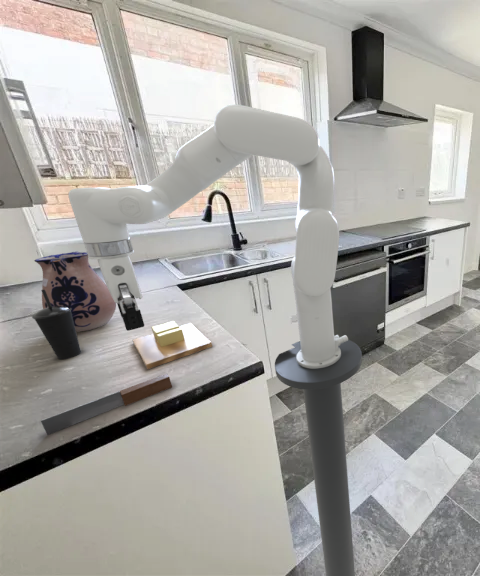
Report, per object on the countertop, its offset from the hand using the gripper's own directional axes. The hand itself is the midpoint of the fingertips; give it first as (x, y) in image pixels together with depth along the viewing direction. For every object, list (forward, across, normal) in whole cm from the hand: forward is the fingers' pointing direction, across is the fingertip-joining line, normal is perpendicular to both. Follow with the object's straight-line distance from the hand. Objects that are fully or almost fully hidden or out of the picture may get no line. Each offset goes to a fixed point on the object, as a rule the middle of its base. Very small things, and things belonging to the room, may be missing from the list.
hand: (132, 321), depth 71 cm
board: (+16, +17, -8) cm, 25 cm away
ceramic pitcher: (+17, +56, +10) cm, 59 cm away
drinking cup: (+17, +32, +15) cm, 39 cm away
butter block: (+15, +21, -8) cm, 27 cm away
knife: (+16, -6, +7) cm, 19 cm away
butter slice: (+15, +16, -8) cm, 23 cm away
